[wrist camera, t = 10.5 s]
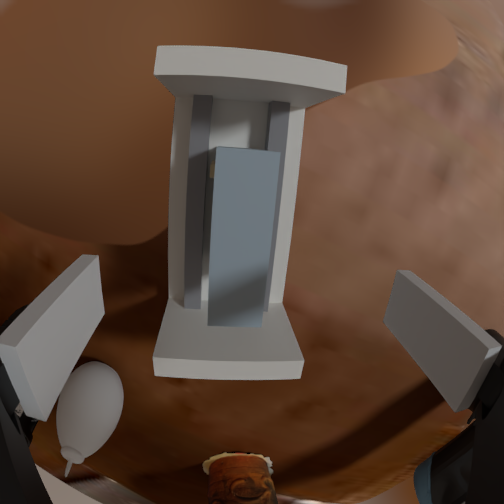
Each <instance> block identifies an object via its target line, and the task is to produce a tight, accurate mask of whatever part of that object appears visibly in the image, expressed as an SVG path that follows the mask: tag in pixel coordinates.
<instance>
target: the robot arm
mask: <svg viewBox="0 0 504 504" xmlns="http://www.w3.org/2000/svg"><path fill="white" fill-rule="evenodd" d="M104 314H105V312H104V304H103V297H102V288H101V279H100V268H99V256H98V255H81V256H80V257H79V258H78V259H77V260H76V261H75V262H74V263H73V264H71V265H70V266H69V267H68V268H67V269H66V270H65V271H64V272H63V273H62V274H61V275H60V276H58V277H57V278H56V279H55V280H54V281H53V282H52V283H51V284H50V285H49V286H48V287H47V288H46V289H45V290H44V291H43V292H42V293H41V294H40V295H39V296H38V297H37V298H36V299H35V300H34V301H33V302H32V303H31V304H30V305H25V306H23V307H22V308H20V309H18V310H16V311H15V312H14V313H13V314H12V315H11V316H10V317H9V318H8V320H6V321H5V322H4V323H3V324H2V326H0V504H53V503H52V501H51V500H50V497H49V495H48V493H47V491H46V489H45V486H44V484H43V482H42V480H41V477H40V475H39V473H38V470H37V468H36V466H35V463H34V461H33V458H32V456H31V453H30V450H29V448H28V445H27V442H26V439H25V436H24V433H23V430H22V427H21V424H20V421H19V418H18V416H17V414H16V412H15V409H16V407H17V406H18V404H19V402H20V404H21V406H22V408H23V410H24V412H25V414H26V416H29V417H32V418H36V419H39V420H42V421H47V419H48V416H49V414H50V412H51V410H52V408H53V406H54V404H55V402H56V400H57V398H58V396H59V394H60V392H61V390H62V389H63V387H64V385H65V383H66V381H67V379H68V377H69V375H70V373H71V372H72V370H73V368H74V366H75V364H76V362H77V361H78V359H79V357H80V355H81V353H82V352H83V350H84V348H85V346H86V345H87V343H88V341H89V339H90V338H91V336H92V334H93V332H94V331H95V329H96V327H97V326H98V324H99V322H100V321H101V319H102V317H103V316H104ZM383 322H384V324H385V325H386V326H387V327H388V328H389V330H390V331H391V332H392V333H393V335H394V336H395V337H396V338H397V339H398V341H399V342H400V343H401V344H402V345H403V347H404V348H405V349H406V350H407V352H408V353H409V354H410V355H411V357H412V358H413V359H414V360H415V362H416V363H417V364H418V365H419V367H420V368H421V369H422V370H423V372H424V373H425V374H426V375H427V377H428V378H429V379H430V381H431V382H432V383H433V384H434V386H435V387H436V388H437V390H438V391H439V392H440V394H441V395H442V396H443V397H444V399H445V400H446V401H447V403H448V404H449V405H450V407H451V408H452V409H453V411H454V412H455V413H456V412H459V411H462V410H464V409H467V408H468V409H470V410H471V411H472V412H473V413H472V415H471V416H470V418H469V419H468V422H467V424H470V422H471V421H472V419H474V418H476V420H475V421H474V422H473V423H472V424H470V425H469V426H468V427H467V428H466V429H465V430H463V431H462V432H461V433H460V434H458V435H457V436H456V437H455V438H453V439H452V440H451V441H450V442H448V443H447V444H446V445H444V446H443V447H442V448H440V449H439V450H438V451H436V452H433V453H432V455H431V456H430V457H429V458H427V459H426V460H425V461H423V462H422V463H421V464H419V465H418V466H417V468H416V470H415V472H414V487H415V490H416V495H417V498H418V501H419V503H420V504H504V338H503V337H502V336H501V335H500V334H499V333H498V332H497V331H495V330H492V329H490V330H483V329H482V328H481V327H480V326H479V325H477V324H476V323H475V322H474V321H473V320H472V319H470V318H469V317H468V316H467V315H466V314H464V313H463V312H462V311H461V310H460V309H458V308H457V307H456V306H455V305H453V304H452V303H451V302H450V301H448V300H447V299H446V298H445V297H443V296H442V295H441V294H440V293H438V292H437V291H436V290H435V289H433V288H432V287H431V286H429V285H428V284H427V283H426V282H424V281H423V280H422V279H420V278H419V277H418V276H416V275H415V274H414V273H413V272H411V271H410V270H397V272H396V276H395V280H394V284H393V288H392V291H391V295H390V299H389V302H388V306H387V309H386V313H385V316H384V320H383Z"/></svg>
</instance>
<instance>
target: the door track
mask: <svg viewBox="0 0 504 504" xmlns="http://www.w3.org/2000/svg"><path fill="white" fill-rule="evenodd" d="M346 74H347V66H346V65H342V64H337V63H333V62H328V61H324V60H319V59H314V58H308V57H303V56H297V55H291V54H284V53H277V52H270V51H262V50H252V49H243V48H229V47H214V46H213V47H212V46H158V47H157V54H156V61H155V69H154V76H155V77H156V78H157V79H158V80H159V81H160V82H161V83H162V84H163V85H164V86H165V87H166V88H167V89H168V90H169V91H170V92H171V93H172V94H173V95H174V96H175V97H176V98H175V108H174V120H173V133H172V146H171V162H170V183H169V213H168V289H169V299H168V302H167V306H166V309H165V313H164V317H163V320H162V324H161V327H160V331H159V335H158V338H157V342H156V346H155V350H154V354H153V365H154V373H155V376H164V377H177V378H194V379H220V380H278V379H300V377H301V373H302V369H303V364H304V358H303V356H302V353H301V351H300V348H299V345H298V343H297V340H296V338H295V335H294V332H293V330H292V327H291V325H290V322H289V319H288V317H287V314H286V312H285V309H284V306H283V304H282V299H283V292H284V285H285V278H286V271H287V264H288V256H289V249H290V241H291V233H292V225H293V217H294V209H295V200H296V192H297V183H298V174H299V164H300V155H301V145H302V135H303V125H304V114H305V108H307V107H309V106H312V105H315V104H317V103H320V102H323V101H325V100H328V99H331V98H334V97H337V96H339V95H342V94H345V90H346ZM217 146H223V147H237V148H250V149H260V150H267V151H275V152H281V154H280V164H279V174H278V184H277V194H276V203H275V213H274V222H273V231H272V240H271V249H270V258H269V267H268V276H267V284H266V293H265V301H264V310H263V318H262V326H261V327H223V326H207V321H208V288H209V262H210V240H211V221H212V204H213V189H214V178H210V165H211V162H212V160H213V161H215V160H216V147H217Z"/></svg>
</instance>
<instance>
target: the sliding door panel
mask: <svg viewBox="0 0 504 504" xmlns="http://www.w3.org/2000/svg"><path fill="white" fill-rule="evenodd" d="M280 154H281V152H275V151H267V150H260V149H250V148H237V147H223V146H217V147H216V160H215V161H213V160H212V162H211V165H210V178H214V189H213V204H212V221H211V240H210V262H209V288H208V321H207V326H223V327H261V326H262V318H263V310H264V301H265V293H266V284H267V276H268V267H269V258H270V249H271V240H272V231H273V222H274V213H275V203H276V194H277V184H278V174H279V164H280Z"/></svg>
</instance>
